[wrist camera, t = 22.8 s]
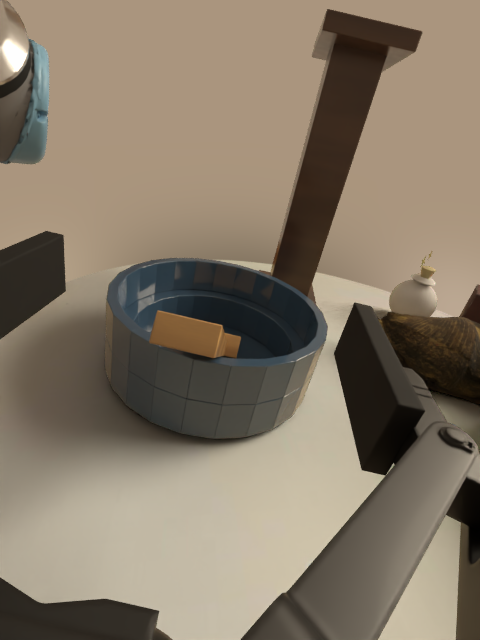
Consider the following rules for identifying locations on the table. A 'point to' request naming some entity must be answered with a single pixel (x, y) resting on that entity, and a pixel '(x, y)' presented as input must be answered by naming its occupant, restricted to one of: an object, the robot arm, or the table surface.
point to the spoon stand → (334, 134)
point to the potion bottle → (415, 294)
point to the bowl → (205, 372)
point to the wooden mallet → (193, 336)
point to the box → (473, 306)
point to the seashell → (438, 351)
